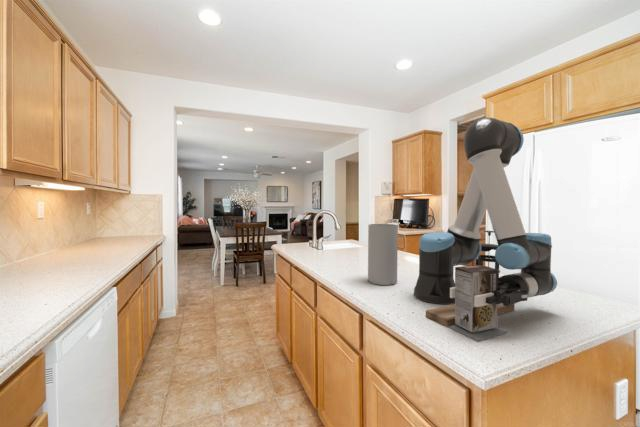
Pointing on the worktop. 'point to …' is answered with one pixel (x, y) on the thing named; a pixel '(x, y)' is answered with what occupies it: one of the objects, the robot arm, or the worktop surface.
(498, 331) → the end pad
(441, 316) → the walnut board
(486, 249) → the french press
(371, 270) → the cylinder vase
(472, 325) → the coffee box
